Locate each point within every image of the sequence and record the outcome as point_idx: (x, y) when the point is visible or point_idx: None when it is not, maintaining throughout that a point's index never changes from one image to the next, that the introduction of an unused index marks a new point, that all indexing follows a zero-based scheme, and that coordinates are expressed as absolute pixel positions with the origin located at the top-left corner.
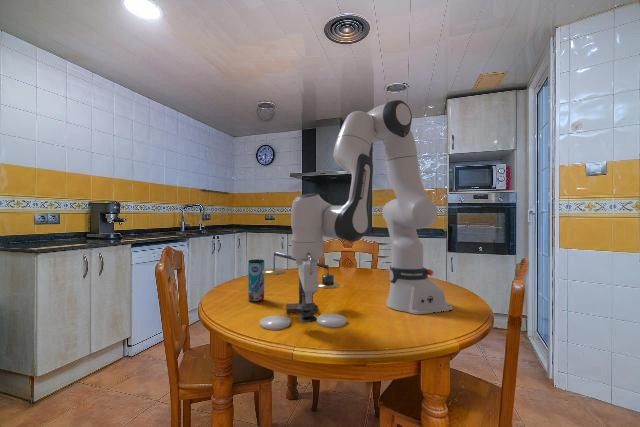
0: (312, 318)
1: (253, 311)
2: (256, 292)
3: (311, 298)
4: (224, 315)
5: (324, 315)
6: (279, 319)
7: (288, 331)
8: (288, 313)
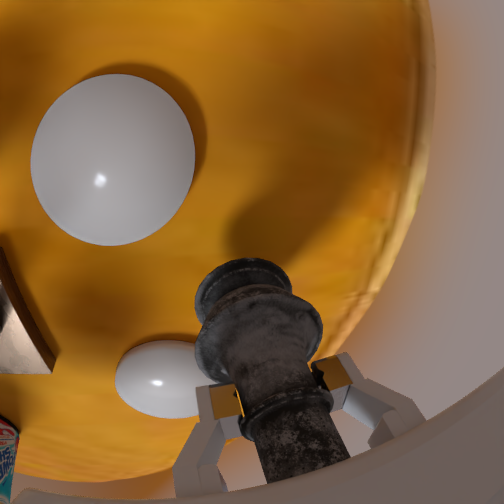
0: (261, 283)
1: (79, 429)
2: (8, 449)
3: (359, 371)
4: (133, 462)
5: (60, 206)
6: (155, 380)
7: None
8: (52, 354)
